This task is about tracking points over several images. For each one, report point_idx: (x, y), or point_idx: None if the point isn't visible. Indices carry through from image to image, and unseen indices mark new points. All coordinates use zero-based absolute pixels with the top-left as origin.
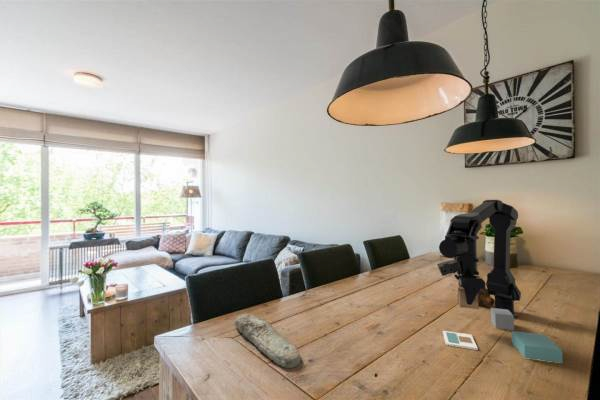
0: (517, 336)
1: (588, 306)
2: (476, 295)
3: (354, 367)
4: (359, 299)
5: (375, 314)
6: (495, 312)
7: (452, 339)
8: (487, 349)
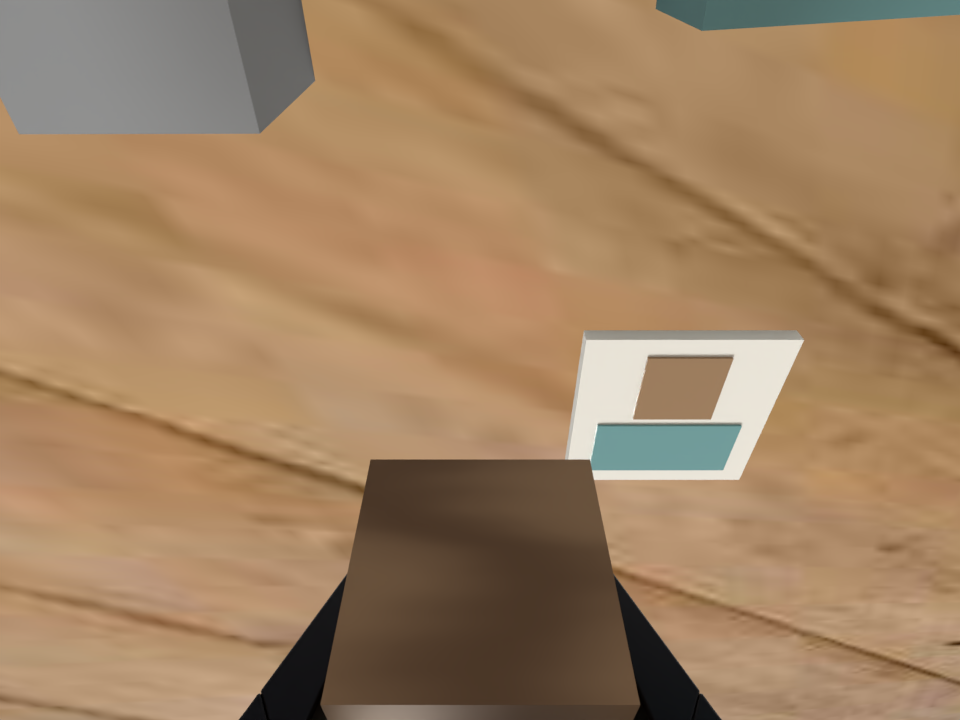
0: (864, 7)
1: None
2: (706, 701)
3: (901, 677)
4: None
5: None
6: (200, 115)
7: (691, 451)
8: (782, 266)
